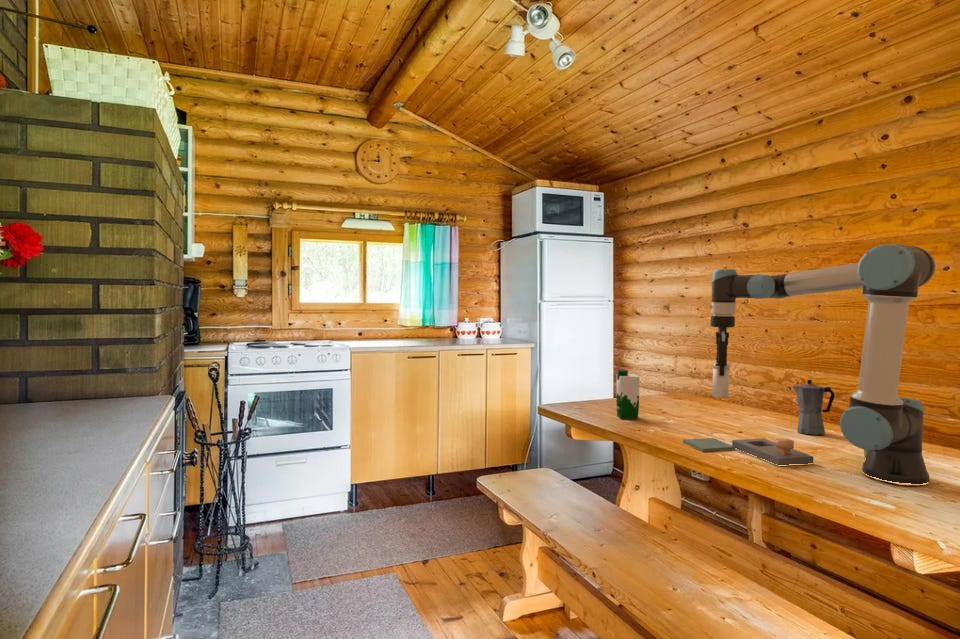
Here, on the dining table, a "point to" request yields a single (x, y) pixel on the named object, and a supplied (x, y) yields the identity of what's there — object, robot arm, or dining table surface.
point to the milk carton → (627, 395)
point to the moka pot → (811, 407)
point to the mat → (708, 444)
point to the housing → (771, 452)
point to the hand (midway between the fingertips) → (720, 383)
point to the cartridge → (719, 389)
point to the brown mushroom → (784, 446)
